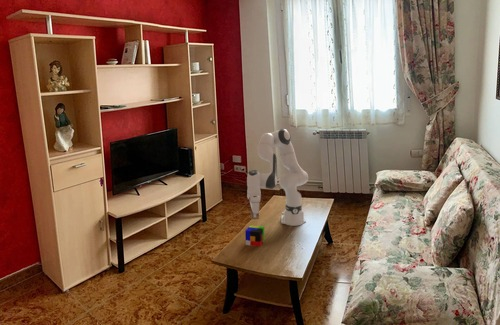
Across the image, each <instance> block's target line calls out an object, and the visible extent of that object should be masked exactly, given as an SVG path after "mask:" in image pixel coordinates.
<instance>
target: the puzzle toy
mask: <svg viewBox="0 0 500 325" xmlns="http://www.w3.org/2000/svg"><path fill="white" fill-rule="evenodd" d="M244 232H245V245H246V246H251V245H252V247H259V246H260V247H261V246H262V245H263V243H264V242H265V226H262V225H261V226H260V225H252V224H251V225H249V226H248V227H247V228H246V230H245V231H244ZM261 244H262V245H261Z"/></svg>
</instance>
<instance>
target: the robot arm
mask: <svg viewBox="0 0 500 325" xmlns="http://www.w3.org/2000/svg"><path fill="white" fill-rule="evenodd" d="M257 144H258V145H257V148H256V154H257V156H258V157H259V158H260V159H261V160H263V161H265V162H267V163H269V164H270V165H269V166H270V170H269V173H268V172H267V173H263V172H262V173H261V172H260V170H256V169H254V170H253V169H252V170H249V171H248V173H247V177H246V178H247V179H246V186H247V190H246V193H247V194H246V197H247V200H249V205H250V209H251V210H252V211H253V217H254V218H255V217H256V214H257V213H259V214H260V202H261V198H262V194H261V192H262V191H261V188H263V189H270V190H272V189H274V188H275V187H276V186H277V184H279V186H280V188H281V189H283V191H284V193H285V200H286V201H285V202H286V203H285V209H284V210H283V211H282V212H281V216H280V218H281V219H280V223H281V224H284V225H287V226H291V227H293V226H294V227H296V226H297V227H298V226H300V225H303V224H305V223H307V221H306V219H305V217H304V216H305V215H304V212H305V211H303V206H302V194H301V193H300V192H299V191H298V189H297V187H300V186H303V185H305V184H306V183H308V182H309V175H308V172H307V171H305V170H304V169H303V168H302V167H301V166H300V165H299V162H298V159H297V156H296V153H295V152H296V151H295V149H294V145H293V143H292V142H291V133H290V131H288V129H285V128H283V129H282V128H281V129H279V130H275V131H273V132H265V133H263V134H261V137H260V139H259V142H258V143H257ZM274 148H278V151H279V157H280V160H281V165H282V167H283V168H286V170H288V173H284V174H283V175H281V176H280V177H279V178H277V176H278V174H277V173H278V172H277V169H278V168H277V167H278V165H277V162H278V161H277V159H278V158H277V155H276V153H275V152H274ZM278 180H279V181H278Z"/></svg>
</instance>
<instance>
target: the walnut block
mask: <svg viewBox="0 0 500 325" xmlns="http://www.w3.org/2000/svg"><path fill="white" fill-rule="evenodd" d="M249 211H250V220H259V219H260V212H259V213H257V214H256V217H255V218H254V217H253V211H252V209H250V210H249Z"/></svg>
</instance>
